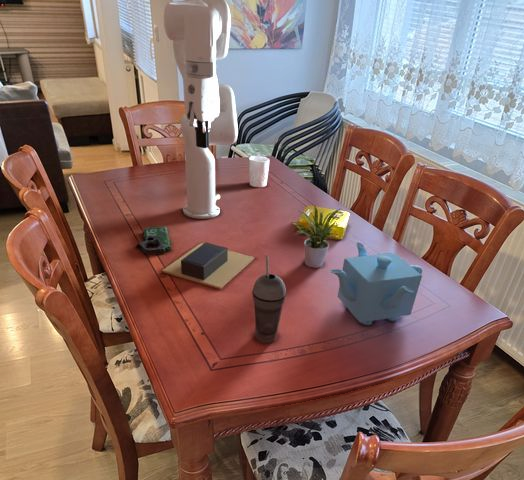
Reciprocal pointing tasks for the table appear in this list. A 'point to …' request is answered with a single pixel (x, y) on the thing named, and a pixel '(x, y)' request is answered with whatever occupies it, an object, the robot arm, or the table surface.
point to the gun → (155, 240)
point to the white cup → (258, 171)
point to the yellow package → (338, 225)
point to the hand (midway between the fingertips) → (202, 146)
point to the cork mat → (218, 277)
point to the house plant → (316, 238)
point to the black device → (204, 261)
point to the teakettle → (378, 286)
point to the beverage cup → (268, 305)
